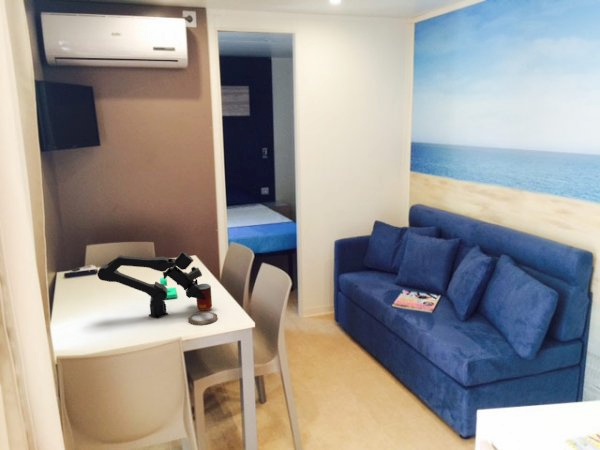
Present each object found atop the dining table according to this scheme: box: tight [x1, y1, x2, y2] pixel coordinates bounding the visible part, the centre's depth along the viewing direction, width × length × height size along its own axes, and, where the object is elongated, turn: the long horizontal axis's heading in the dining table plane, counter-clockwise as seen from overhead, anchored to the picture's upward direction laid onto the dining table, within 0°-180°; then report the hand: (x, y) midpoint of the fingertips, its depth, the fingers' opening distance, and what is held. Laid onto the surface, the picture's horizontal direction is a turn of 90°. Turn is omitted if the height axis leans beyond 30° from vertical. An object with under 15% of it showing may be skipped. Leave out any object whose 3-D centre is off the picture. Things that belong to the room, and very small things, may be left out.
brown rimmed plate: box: [187, 311, 218, 326], centre depth 227 cm, size 13×13×1 cm
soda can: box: [195, 283, 213, 313], centre depth 238 cm, size 7×7×12 cm
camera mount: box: [159, 277, 178, 299], centre depth 260 cm, size 12×8×10 cm, turn 17°
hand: (204, 296), depth 238 cm, fingers closed on soda can, 7 cm apart
